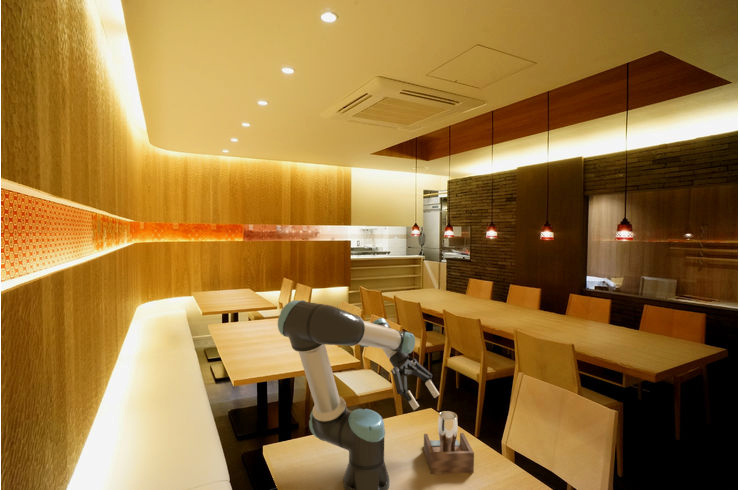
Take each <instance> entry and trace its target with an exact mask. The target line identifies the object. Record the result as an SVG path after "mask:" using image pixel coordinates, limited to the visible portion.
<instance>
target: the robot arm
mask: <svg viewBox="0 0 740 490" xmlns="http://www.w3.org/2000/svg"><path fill="white" fill-rule="evenodd" d="M277 328H278V332H279V333H280V334H281V335H282V336H283V337H286V338H288V339H289V342H290V344H291V349H292V350H293V351H295V352H298V355H299V358H300V361H301V365H302V368H303V370H304V374H305V378H306V381H307V383H308V387H309V390H310V393H311V397H312V400H313V403H314V405H313V407H312V410H311V412H310V415H309V418H310V419H309V421H308V423H309V424H308V425H309V430H310V432H311V434H312V435H313V436H314V437H316V438H317V439H319V441H323V442H326V443H329V444H331V445H334V446H337V447H339V448H341V449H343V450H347V451H348V463H347V466H346V469H345V473H344V476H343V489H344V488H345V489H344V490H389V489H390V476H389V472H388V469H387V466H386V463H385V436H386V435H385V434H386V432H385V431H386V430H385V421H384V419H383V417H382V416H381V415H380V414H379V413H378V412H376V411H374V410H372V409H369V408H365V409H363V408H357V409H354V410H349V409H348V407H347V403H346V400H345V399H344V398H343V396H340V395H339V392H338V388H337V384H336V380H335V379H336V378H335V376H334V373H333V369H332V365H331V361H330V358H329V355H328V350H327V347H326V346H327V345H328V346H331V345H332V346H348V347H354V346H356V345H359V346H361V347H364V348H365V347H367V348H368V347H371V348H376V349H381V350H382V351H383V352H384V354H385V356H386V358H388V360H389V362H390V364H391V365H392V367H393V368H391V370H390V372H391V374H392V377H393V382H394V386H395V390H396V393H397V394H398V395H400V396H404V399H405V401H407V402H408V403H409V405H410V406H411V408H412V410H413V411H415V410H417V409H418V408H419V407H420V405H419V403H418V401H416V398H415V397H414V396H413V395H414V394H412V392H411V390H408V378H407V376H409V375H414V376H415V377H416V378H419V379H421V380H422V381H424V382H425V383H424V384H425V386H426V387H427V389H428V391H429V392H430V394H431V395H432V397H433V398H434V399H436V398H437V397H438V396H439V395H440V393H439V391H438V389H437V388H436V386H435V383H434V382H433V380H432V379H433V378H432V377H433V374H432V373H431V372H430V371H429V370H427V369H426V368H425V366H423V365H422V364H420V363H419V362H418V361H417V359H416V358H413V359H412V360H410V355H409V354H411V353H412V352H413V351H414V348H415V346H416V338H415V335H414V334H413V333H412V332H408V331H402V330H398V329H394V328H392V327H391V326H390V323H388V322H387V320H386V318H383V317H379V318H377V319H375V320H373V321H372V322H370V321H366V320H363V318H362V317H361V316H359V315H357V314H355V313H351V312H349V311H346V310H344V309H341V308H339V307H336V306H334V305H329V304H324V303H316V302H312V301H311V302H310V301H306V300H297V299H296V300H295V299H294V300H292V301H289V302H288V303H285V305H284V306H283V307H282V309H281V311H280V313H279V316H278V319H277Z"/></svg>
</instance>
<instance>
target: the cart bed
mask: <svg viewBox="0 0 740 490" xmlns="http://www.w3.org/2000/svg"><path fill="white" fill-rule="evenodd" d="M439 450H440V439H437V440H435V439H433V440H430V437H429V435H428V433H424V434H423V453H424V457H425V460H426V462H427V466H428V469H429V472H430V474H431V475H432V474H436V475H437V474H458V473H459V474H463V473H474V471H475V470H474V469H475V463H474V462H475V461H474V460H475V452H474V451H473V449H472V447H471V445H470V443H469V441H468V439H467V437H466V435H465V434H464V432H460V433H459V440H458V439H456V442H455V451H452V452H439Z"/></svg>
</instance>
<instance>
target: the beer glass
mask: <svg viewBox="0 0 740 490" xmlns="http://www.w3.org/2000/svg"><path fill="white" fill-rule="evenodd" d="M437 422H438V423H437V431H438V432H437V433H438V437H439V439H438V440H440V450H439V452H452V451H455V442H456V440H457V435H458V431H459V430H458V428H459V427H458V425H459V424H458V415H457V413H455V412H453V411H450V410H447V411H446V410H444V411H441V412H438V420H437Z"/></svg>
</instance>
